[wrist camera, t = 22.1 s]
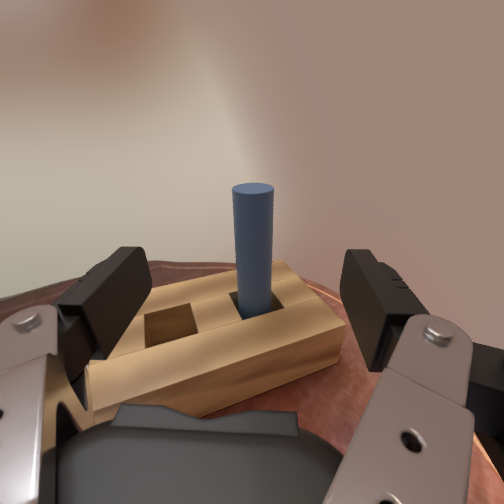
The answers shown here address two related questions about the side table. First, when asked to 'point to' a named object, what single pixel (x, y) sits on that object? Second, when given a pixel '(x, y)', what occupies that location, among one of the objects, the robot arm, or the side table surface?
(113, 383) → the rack
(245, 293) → the peg
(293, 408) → the side table surface
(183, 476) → the robot arm
